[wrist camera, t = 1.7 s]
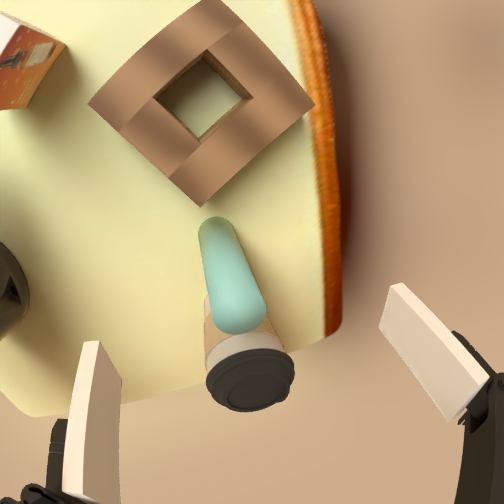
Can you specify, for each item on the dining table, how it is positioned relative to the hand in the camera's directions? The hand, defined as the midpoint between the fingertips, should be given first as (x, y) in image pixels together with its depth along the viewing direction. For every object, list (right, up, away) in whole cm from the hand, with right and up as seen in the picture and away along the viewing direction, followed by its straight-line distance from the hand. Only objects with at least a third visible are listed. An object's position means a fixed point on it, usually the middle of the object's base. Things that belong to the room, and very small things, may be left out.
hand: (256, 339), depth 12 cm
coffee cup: (-3, -3, +26) cm, 26 cm away
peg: (-4, +6, +21) cm, 22 cm away
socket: (-5, +19, +13) cm, 24 cm away
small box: (-23, +23, +6) cm, 34 cm away
